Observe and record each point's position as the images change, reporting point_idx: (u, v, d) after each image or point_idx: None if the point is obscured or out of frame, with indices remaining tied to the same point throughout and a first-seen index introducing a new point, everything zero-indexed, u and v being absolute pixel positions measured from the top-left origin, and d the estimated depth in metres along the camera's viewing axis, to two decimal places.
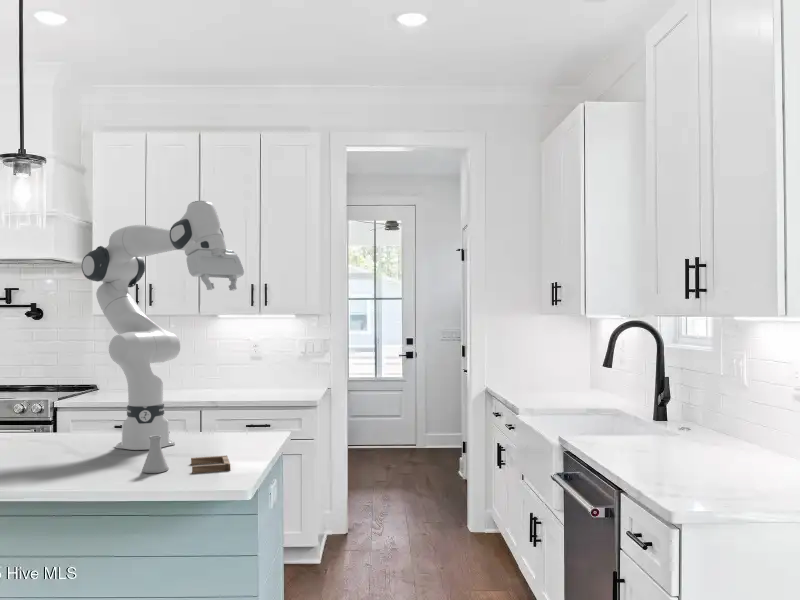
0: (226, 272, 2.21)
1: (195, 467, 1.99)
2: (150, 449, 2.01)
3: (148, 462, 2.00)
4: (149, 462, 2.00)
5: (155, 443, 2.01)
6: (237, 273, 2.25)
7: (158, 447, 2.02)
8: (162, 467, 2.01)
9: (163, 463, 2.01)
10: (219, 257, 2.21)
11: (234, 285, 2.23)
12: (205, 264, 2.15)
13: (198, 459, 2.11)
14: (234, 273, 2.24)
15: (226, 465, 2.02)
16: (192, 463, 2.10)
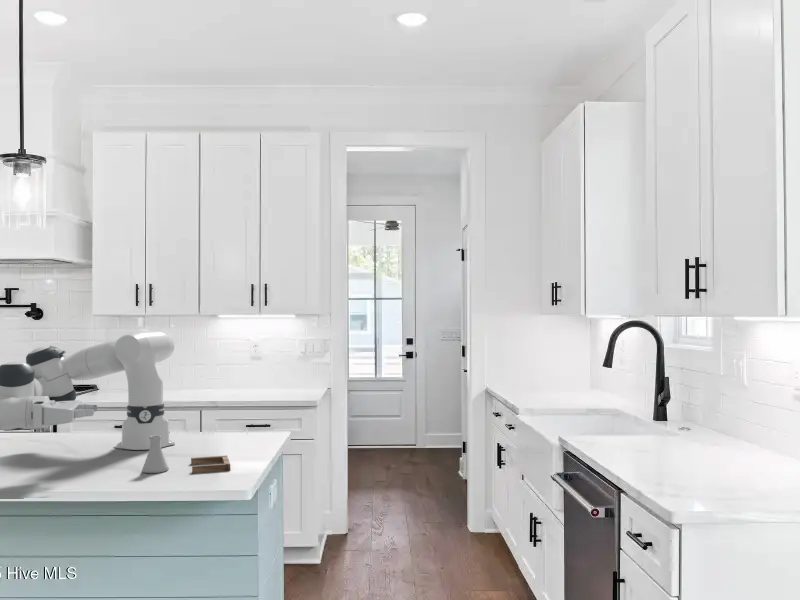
0: (76, 403, 1.98)
1: (195, 467, 1.99)
2: (150, 449, 2.01)
3: (148, 462, 2.00)
4: (149, 462, 2.00)
5: (155, 443, 2.01)
6: (78, 401, 2.02)
7: (158, 447, 2.02)
8: (162, 467, 2.01)
9: (163, 463, 2.01)
10: (55, 405, 1.95)
11: (92, 405, 2.02)
12: (62, 407, 1.89)
13: (198, 459, 2.11)
14: (78, 402, 2.01)
15: (226, 465, 2.02)
16: (192, 463, 2.10)
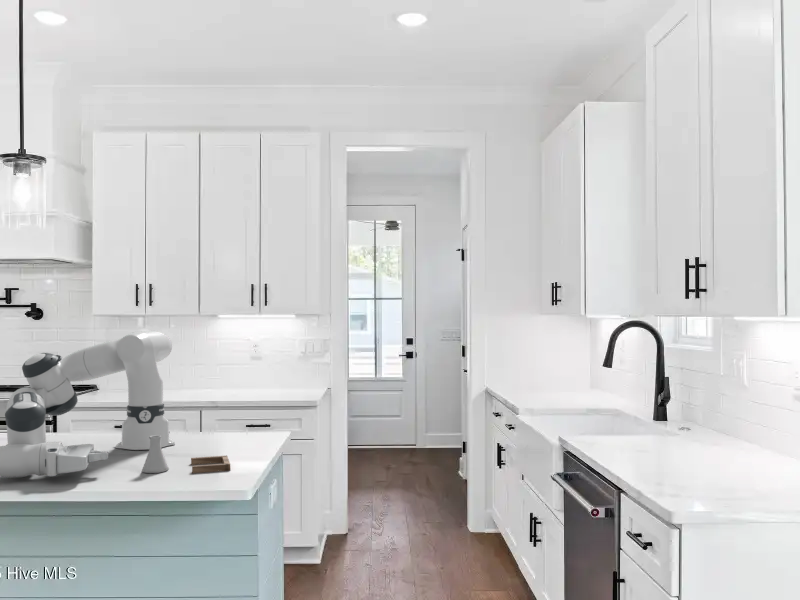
0: (88, 448, 1.99)
1: (195, 467, 1.99)
2: (150, 449, 2.01)
3: (148, 462, 2.00)
4: (149, 462, 2.00)
5: (155, 443, 2.01)
6: (91, 445, 2.03)
7: (158, 447, 2.02)
8: (162, 467, 2.01)
9: (163, 463, 2.01)
10: (68, 450, 1.96)
11: (103, 451, 1.99)
12: (75, 454, 1.90)
13: (198, 459, 2.11)
14: (90, 446, 2.02)
15: (226, 465, 2.02)
16: (192, 463, 2.10)
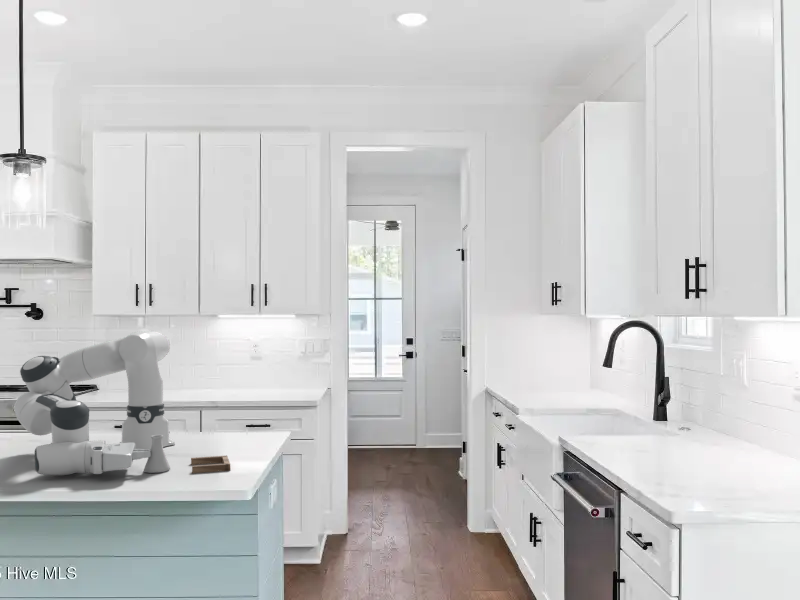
0: (131, 447, 2.01)
1: (195, 467, 1.99)
2: (152, 449, 2.01)
3: (150, 462, 2.00)
4: (151, 461, 2.00)
5: (157, 443, 2.01)
6: (133, 444, 2.06)
7: (160, 447, 2.02)
8: (164, 467, 2.01)
9: (165, 463, 2.02)
10: (112, 449, 1.98)
11: (146, 449, 2.01)
12: (120, 452, 1.93)
13: (198, 459, 2.11)
14: (133, 445, 2.04)
15: (226, 465, 2.02)
16: (192, 463, 2.10)
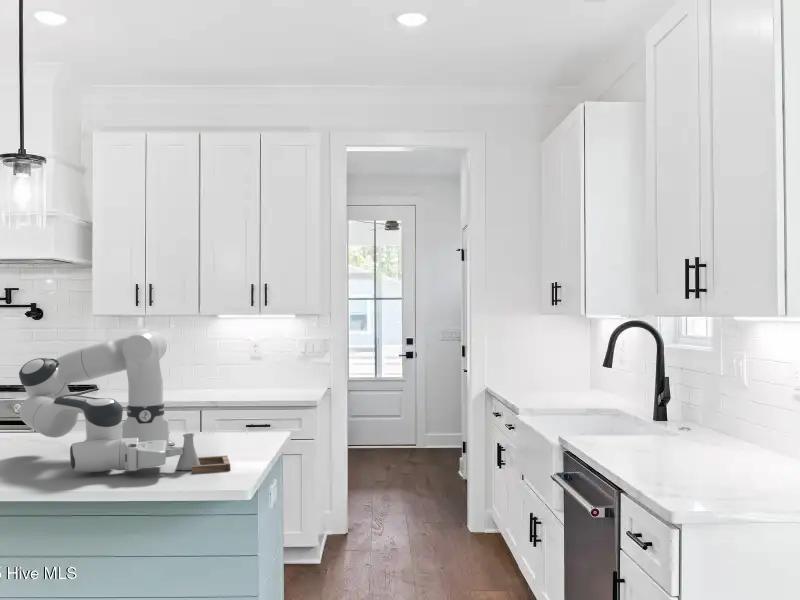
0: (164, 444, 2.04)
1: (195, 467, 1.99)
2: (184, 447, 2.04)
3: (184, 460, 2.03)
4: (184, 459, 2.03)
5: (190, 441, 2.04)
6: (165, 441, 2.09)
7: (192, 444, 2.05)
8: (197, 464, 2.04)
9: (197, 460, 2.05)
10: (145, 446, 2.01)
11: (178, 447, 2.04)
12: (154, 450, 1.96)
13: None
14: (165, 442, 2.07)
15: (226, 465, 2.02)
16: None
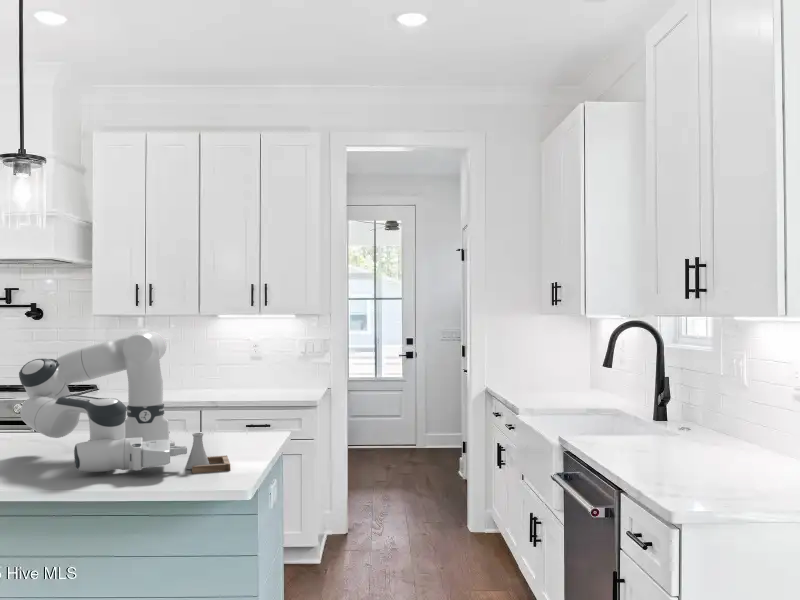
0: (168, 443, 2.05)
1: (195, 467, 1.99)
2: (194, 446, 2.05)
3: (193, 459, 2.04)
4: (193, 458, 2.04)
5: (199, 440, 2.05)
6: (168, 441, 2.09)
7: (201, 444, 2.06)
8: (206, 464, 2.05)
9: (206, 459, 2.06)
10: (149, 446, 2.02)
11: (182, 446, 2.05)
12: (159, 449, 1.96)
13: None
14: (168, 442, 2.08)
15: (226, 465, 2.02)
16: None
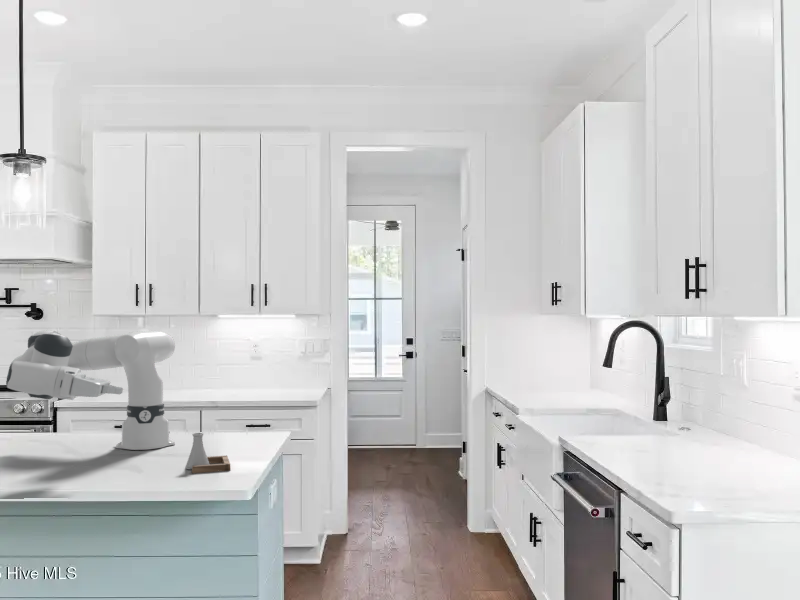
0: (105, 381, 2.01)
1: (195, 467, 1.99)
2: (194, 446, 2.05)
3: (193, 459, 2.04)
4: (193, 458, 2.04)
5: (199, 440, 2.05)
6: (107, 381, 2.05)
7: (201, 444, 2.06)
8: (206, 464, 2.05)
9: (207, 459, 2.06)
10: (85, 379, 1.98)
11: (118, 387, 2.01)
12: None
13: None
14: (107, 381, 2.04)
15: (226, 465, 2.02)
16: None
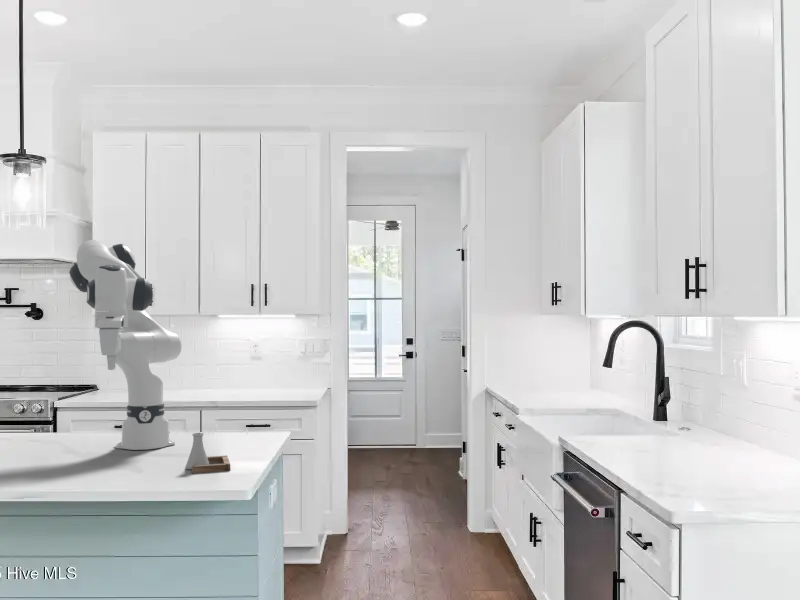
0: (118, 350, 2.05)
1: (195, 467, 1.99)
2: (194, 446, 2.05)
3: (193, 459, 2.04)
4: (193, 458, 2.04)
5: (199, 440, 2.05)
6: None
7: (201, 444, 2.06)
8: (206, 464, 2.05)
9: (207, 459, 2.06)
10: None
11: None
12: None
13: None
14: (119, 350, 2.08)
15: (226, 465, 2.02)
16: None
